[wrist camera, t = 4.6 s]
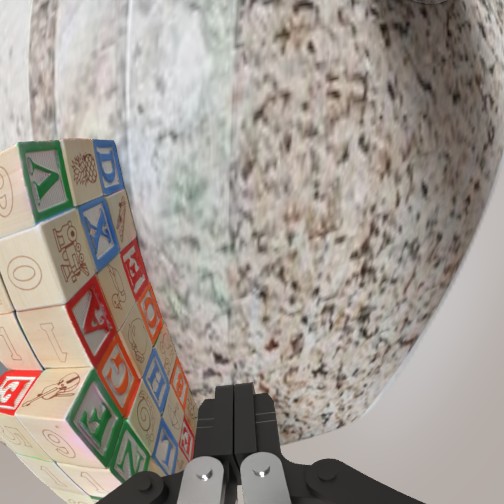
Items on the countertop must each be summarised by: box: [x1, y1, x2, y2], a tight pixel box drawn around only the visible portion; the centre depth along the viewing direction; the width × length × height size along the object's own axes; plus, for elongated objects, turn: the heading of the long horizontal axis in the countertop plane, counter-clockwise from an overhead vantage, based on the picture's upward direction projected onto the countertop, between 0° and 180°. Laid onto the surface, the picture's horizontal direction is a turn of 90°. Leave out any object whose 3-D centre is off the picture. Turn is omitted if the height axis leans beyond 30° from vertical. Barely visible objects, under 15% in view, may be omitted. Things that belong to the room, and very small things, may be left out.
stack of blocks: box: [0, 139, 198, 504], centre depth 14 cm, size 21×6×12 cm, turn 10°
